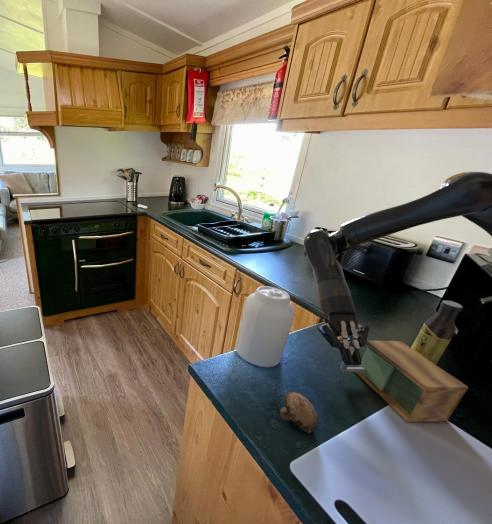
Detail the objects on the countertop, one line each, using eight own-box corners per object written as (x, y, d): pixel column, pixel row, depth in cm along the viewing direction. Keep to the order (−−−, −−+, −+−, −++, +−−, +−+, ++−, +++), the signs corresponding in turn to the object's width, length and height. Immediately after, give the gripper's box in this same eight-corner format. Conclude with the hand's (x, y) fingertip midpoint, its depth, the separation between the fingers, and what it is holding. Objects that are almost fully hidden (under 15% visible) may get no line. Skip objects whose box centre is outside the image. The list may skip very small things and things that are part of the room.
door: (356, 390, 70) (368, 363, 67) (334, 368, 77) (344, 342, 74) (383, 390, 71) (396, 363, 68) (359, 368, 78) (370, 343, 75)
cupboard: (407, 421, 64) (426, 387, 61) (353, 370, 79) (366, 340, 76) (447, 421, 65) (468, 387, 62) (386, 370, 80) (401, 341, 76)
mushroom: (268, 404, 62) (293, 390, 59) (278, 397, 68) (301, 384, 65) (294, 444, 58) (322, 431, 55) (302, 432, 64) (327, 420, 61)
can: (258, 337, 91) (272, 279, 84) (290, 363, 80) (310, 299, 73) (226, 344, 86) (238, 284, 79) (255, 373, 75) (273, 306, 68)
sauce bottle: (404, 351, 89) (432, 294, 82) (431, 359, 86) (462, 301, 79) (409, 363, 84) (440, 304, 77) (438, 372, 81) (472, 311, 74)
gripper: (320, 293, 75) (338, 363, 68) (368, 295, 76) (391, 364, 69) (303, 301, 82) (318, 365, 75) (347, 302, 83) (366, 366, 76)
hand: (353, 364), depth 72 cm, fingers closed
